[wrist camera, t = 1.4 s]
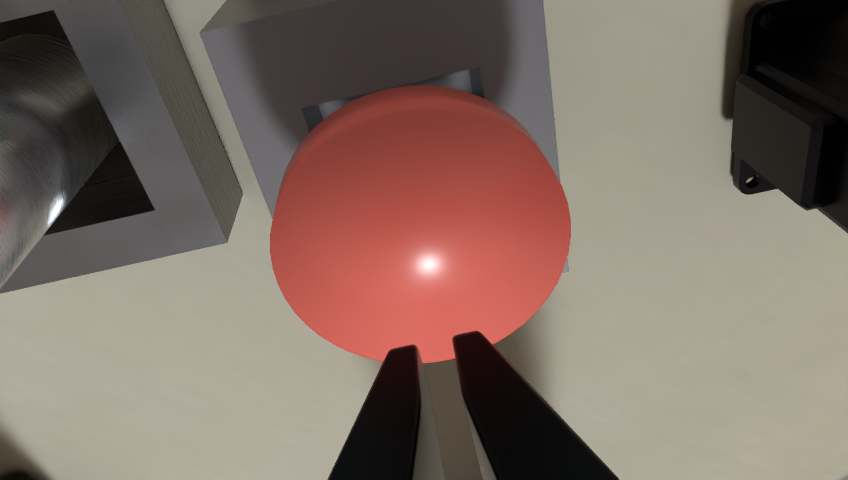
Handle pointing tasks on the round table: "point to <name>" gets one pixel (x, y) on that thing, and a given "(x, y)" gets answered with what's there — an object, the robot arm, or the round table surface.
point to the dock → (371, 64)
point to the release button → (418, 223)
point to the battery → (15, 476)
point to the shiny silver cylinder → (44, 139)
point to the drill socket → (135, 147)
